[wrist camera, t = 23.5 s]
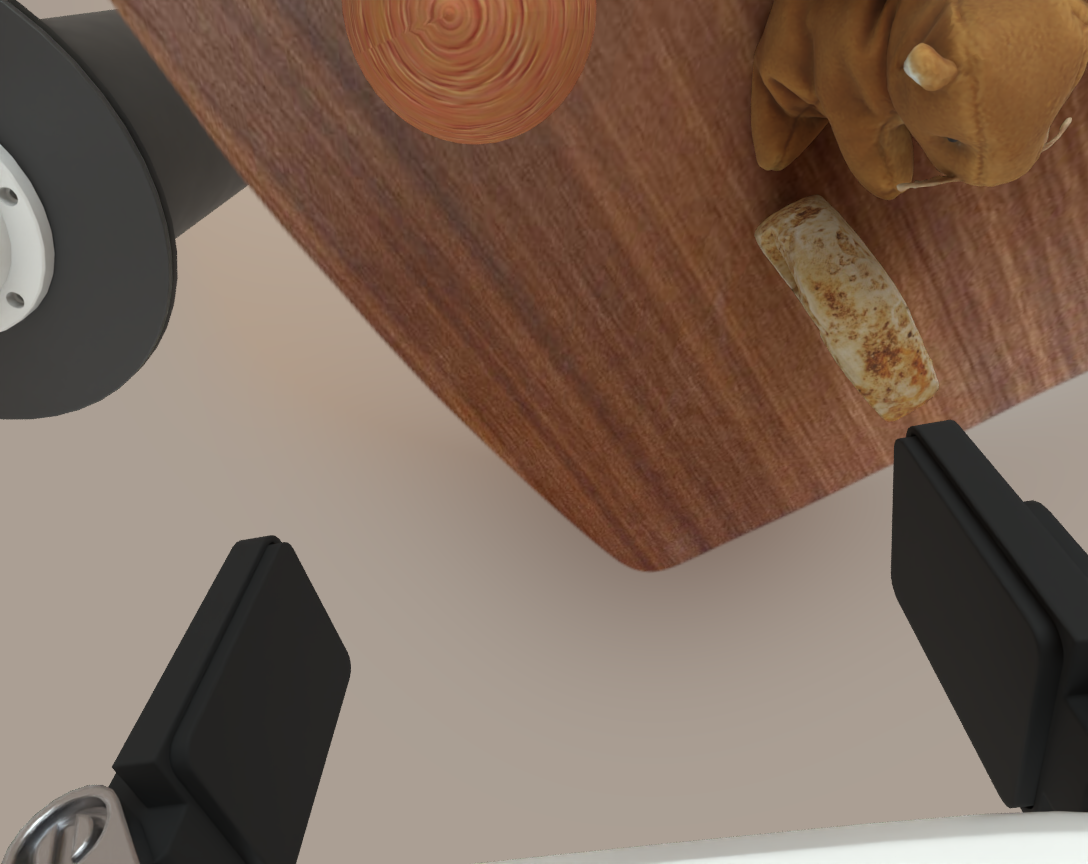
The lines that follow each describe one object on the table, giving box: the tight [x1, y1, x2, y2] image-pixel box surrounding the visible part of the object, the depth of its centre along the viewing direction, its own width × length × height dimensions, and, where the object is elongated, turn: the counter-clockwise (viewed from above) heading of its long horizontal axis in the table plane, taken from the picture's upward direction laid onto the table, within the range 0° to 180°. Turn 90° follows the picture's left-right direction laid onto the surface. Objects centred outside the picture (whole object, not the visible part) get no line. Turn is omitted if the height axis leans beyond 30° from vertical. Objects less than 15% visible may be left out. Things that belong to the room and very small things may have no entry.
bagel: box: [755, 195, 939, 422], centre depth 34 cm, size 10×4×10 cm, turn 38°
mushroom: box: [342, 0, 596, 144], centre depth 26 cm, size 8×8×15 cm
